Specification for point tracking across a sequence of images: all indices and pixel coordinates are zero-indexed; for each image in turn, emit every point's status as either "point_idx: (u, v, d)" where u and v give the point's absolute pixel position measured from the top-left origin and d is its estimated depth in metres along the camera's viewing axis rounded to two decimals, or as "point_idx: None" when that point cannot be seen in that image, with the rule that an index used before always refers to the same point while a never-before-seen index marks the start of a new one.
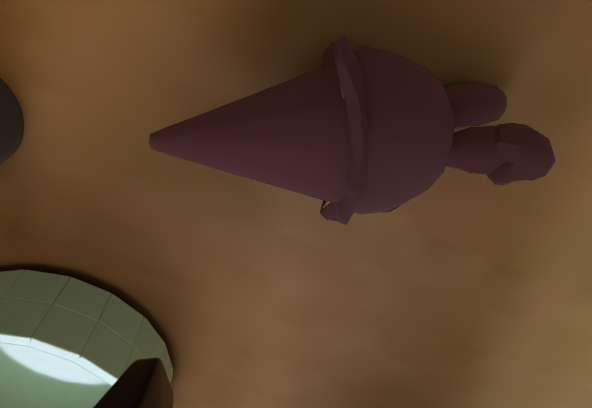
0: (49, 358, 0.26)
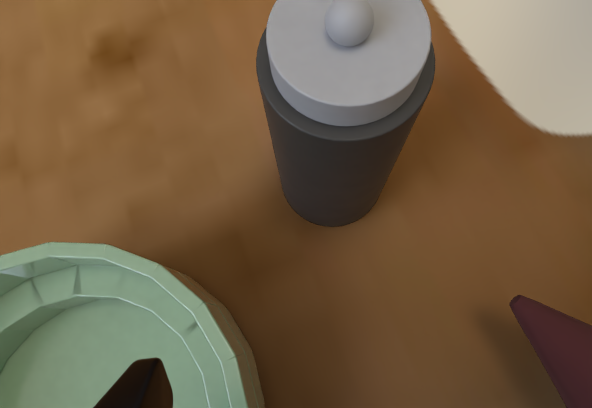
0: None
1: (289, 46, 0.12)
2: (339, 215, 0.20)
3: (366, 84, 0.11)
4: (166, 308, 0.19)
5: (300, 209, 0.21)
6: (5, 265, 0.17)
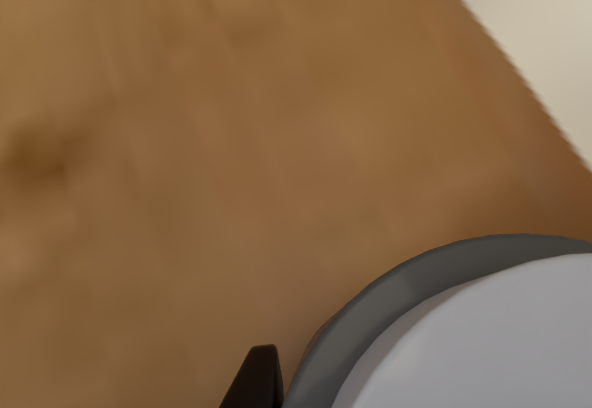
0: None
1: None
2: None
3: None
4: None
5: None
6: None
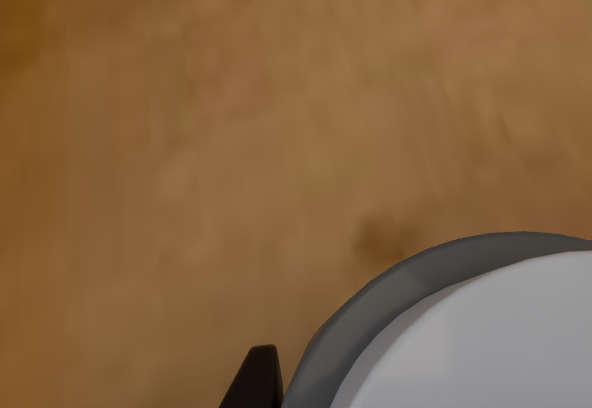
0: None
1: None
2: None
3: None
4: None
5: None
6: None
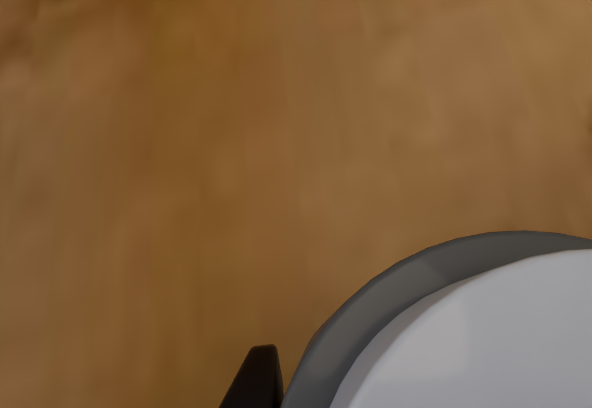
0: None
1: None
2: None
3: None
4: None
5: None
6: None
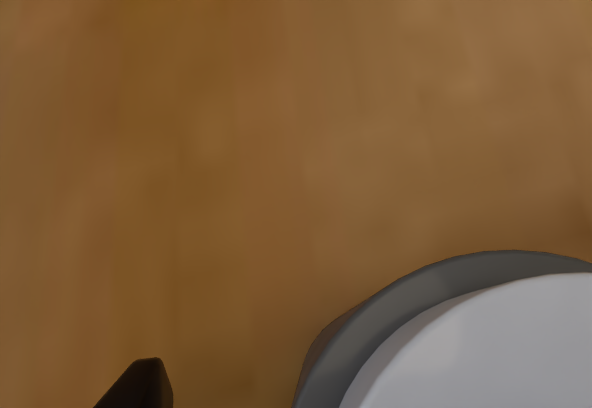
0: None
1: None
2: None
3: None
4: None
5: None
6: None
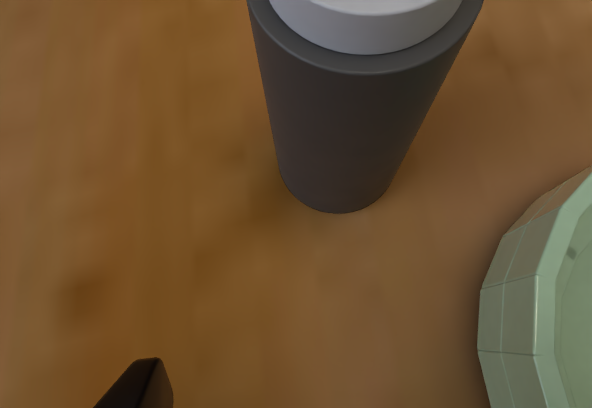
0: None
1: None
2: (347, 197, 0.17)
3: None
4: None
5: (300, 191, 0.17)
6: None
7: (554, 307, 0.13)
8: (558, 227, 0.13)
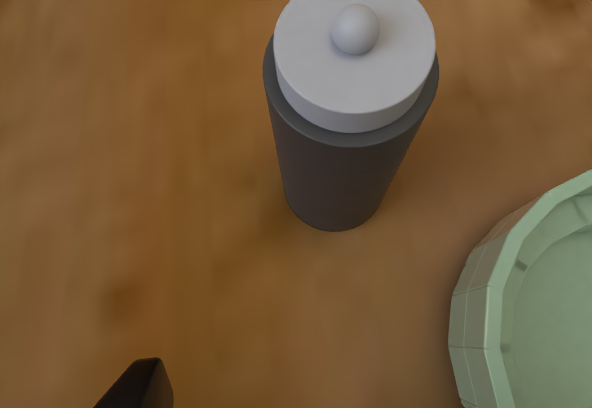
0: None
1: (296, 54, 0.12)
2: (341, 220, 0.20)
3: (372, 92, 0.11)
4: None
5: (302, 214, 0.21)
6: None
7: (501, 311, 0.16)
8: (506, 248, 0.17)
